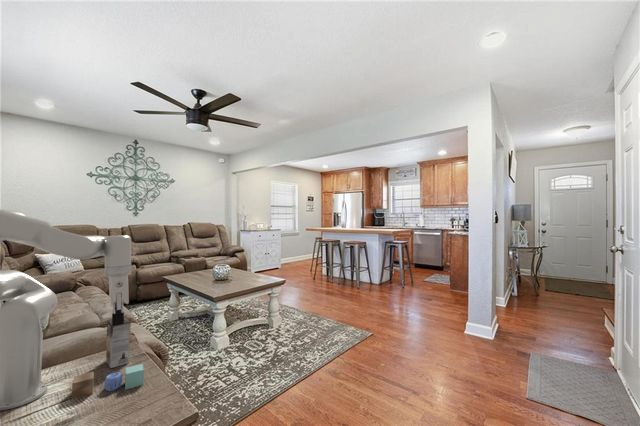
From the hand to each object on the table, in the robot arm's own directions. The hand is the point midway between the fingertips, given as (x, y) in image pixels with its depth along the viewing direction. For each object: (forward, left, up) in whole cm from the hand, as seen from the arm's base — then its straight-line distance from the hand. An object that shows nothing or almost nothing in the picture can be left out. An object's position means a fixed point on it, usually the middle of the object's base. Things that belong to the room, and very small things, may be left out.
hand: (117, 324), depth 97 cm
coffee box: (-12, +13, -20) cm, 27 cm away
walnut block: (-5, -7, -20) cm, 22 cm away
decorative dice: (+2, -3, -20) cm, 20 cm away
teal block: (+7, 0, -20) cm, 21 cm away
